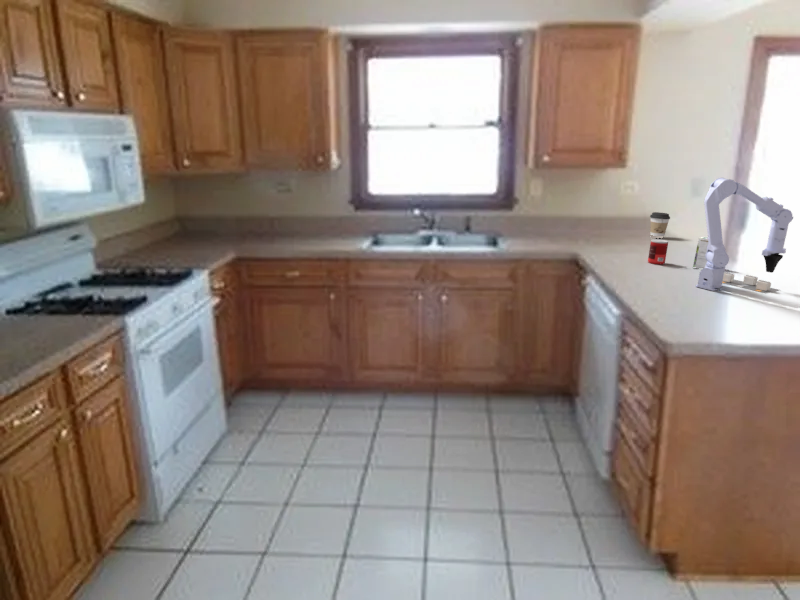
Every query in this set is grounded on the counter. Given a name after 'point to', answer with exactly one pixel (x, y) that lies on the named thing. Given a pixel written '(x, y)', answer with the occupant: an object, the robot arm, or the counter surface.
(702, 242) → the syrup box
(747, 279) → the middle slider
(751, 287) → the switch panel
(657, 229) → the coffee cup
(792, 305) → the counter surface
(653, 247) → the canned food
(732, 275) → the block
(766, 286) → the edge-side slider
